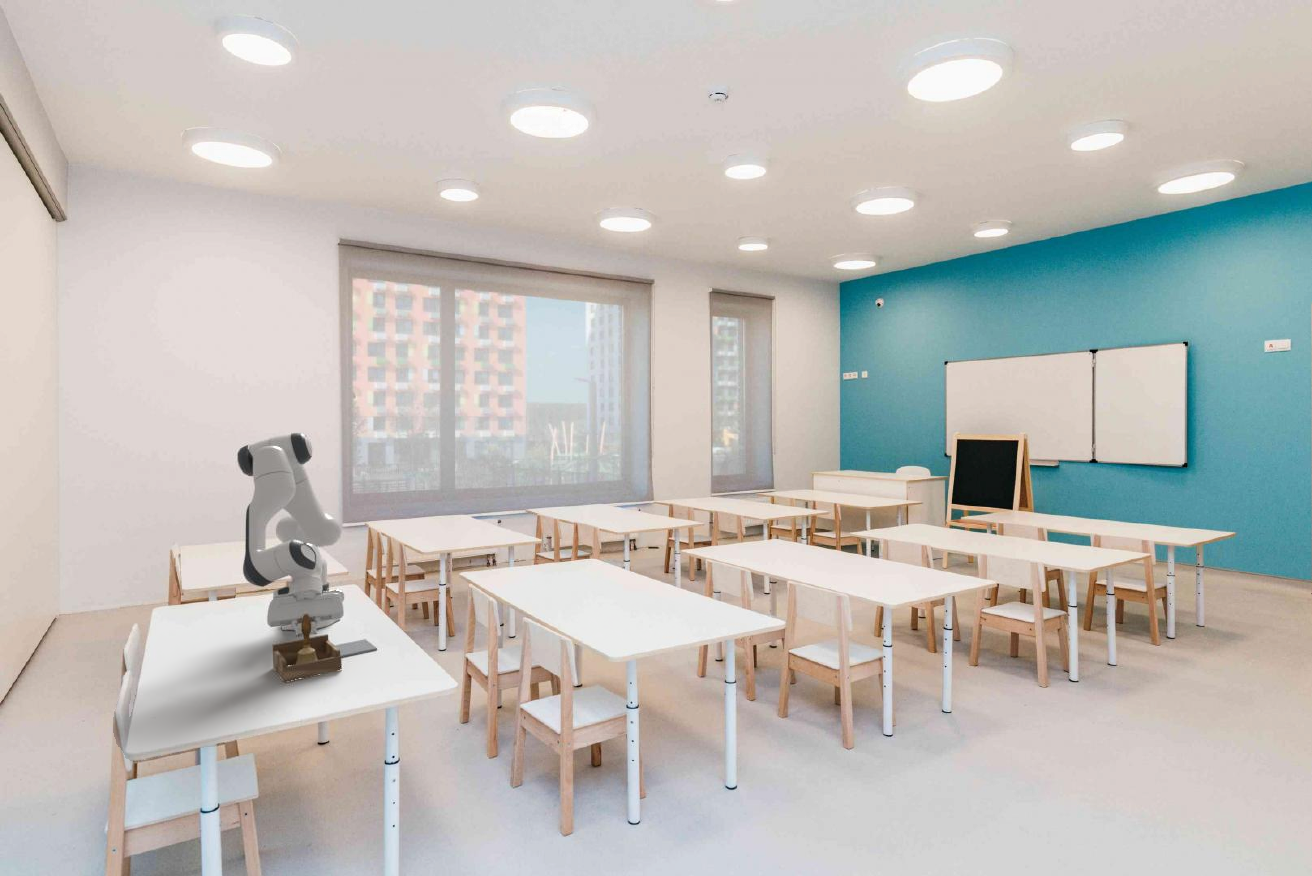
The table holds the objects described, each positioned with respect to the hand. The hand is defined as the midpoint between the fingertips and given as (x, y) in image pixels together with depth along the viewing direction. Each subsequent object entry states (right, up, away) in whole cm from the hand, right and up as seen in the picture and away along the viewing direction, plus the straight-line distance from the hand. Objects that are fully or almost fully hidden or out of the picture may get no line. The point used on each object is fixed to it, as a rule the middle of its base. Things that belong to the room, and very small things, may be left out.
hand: (306, 634), depth 206 cm
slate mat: (+5, -10, +18) cm, 21 cm away
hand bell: (0, -11, +1) cm, 11 cm away
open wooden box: (0, -10, +1) cm, 10 cm away
